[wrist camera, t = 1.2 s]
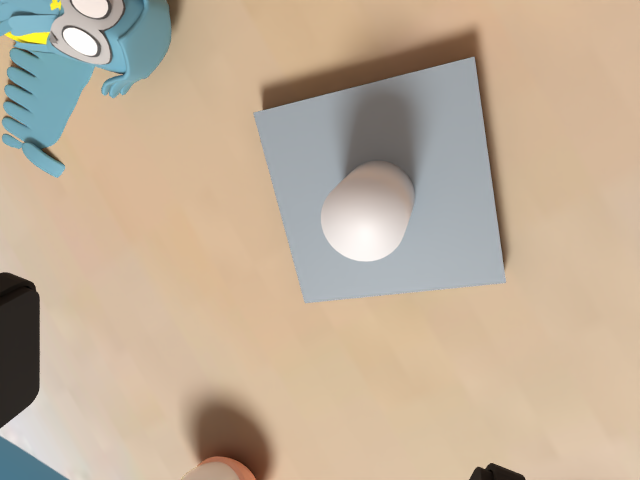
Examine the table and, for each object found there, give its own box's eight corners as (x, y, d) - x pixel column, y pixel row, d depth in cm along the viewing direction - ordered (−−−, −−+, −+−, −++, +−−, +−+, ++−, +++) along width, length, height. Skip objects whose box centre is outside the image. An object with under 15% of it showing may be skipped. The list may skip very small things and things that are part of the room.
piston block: (473, 56, 26) (477, 54, 20) (503, 272, 30) (514, 324, 24) (262, 110, 30) (214, 121, 24) (311, 293, 34) (279, 341, 28)
